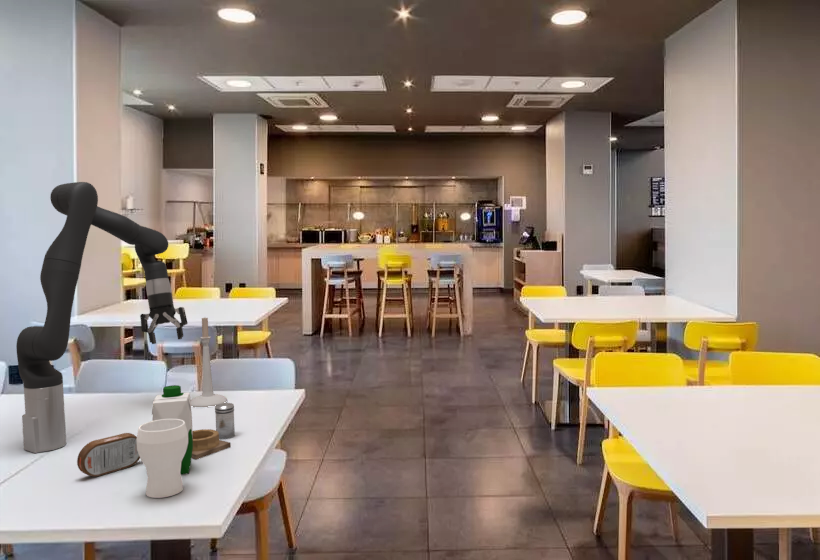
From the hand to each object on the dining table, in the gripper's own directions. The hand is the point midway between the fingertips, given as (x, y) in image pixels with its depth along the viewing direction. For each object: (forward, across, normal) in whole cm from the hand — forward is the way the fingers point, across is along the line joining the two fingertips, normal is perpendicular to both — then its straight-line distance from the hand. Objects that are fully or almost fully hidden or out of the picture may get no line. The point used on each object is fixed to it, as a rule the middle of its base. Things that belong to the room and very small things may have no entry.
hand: (167, 341), depth 202 cm
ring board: (+31, +17, -38) cm, 52 cm away
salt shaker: (+30, +21, -28) cm, 46 cm away
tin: (+30, 0, -52) cm, 60 cm away
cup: (+34, +16, -65) cm, 76 cm away
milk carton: (+32, +15, -53) cm, 64 cm away
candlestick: (+23, +7, +10) cm, 26 cm away
